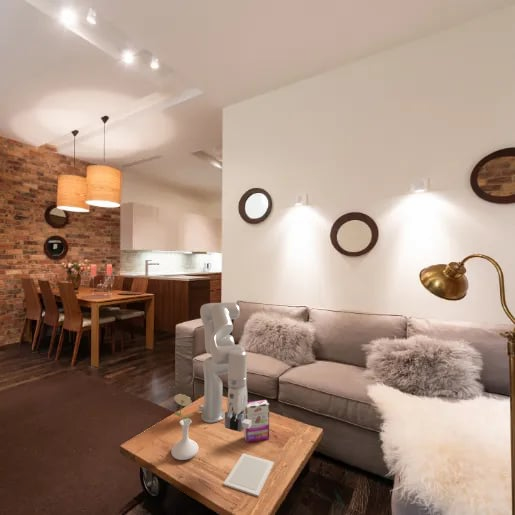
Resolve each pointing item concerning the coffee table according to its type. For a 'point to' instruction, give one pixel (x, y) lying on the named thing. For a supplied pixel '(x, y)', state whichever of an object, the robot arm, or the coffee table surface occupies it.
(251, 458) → the white rectangular tray
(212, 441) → the coffee table surface
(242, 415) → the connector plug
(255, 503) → the coffee table surface
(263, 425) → the candy bar box
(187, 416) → the flower in vase
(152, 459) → the coffee table surface
